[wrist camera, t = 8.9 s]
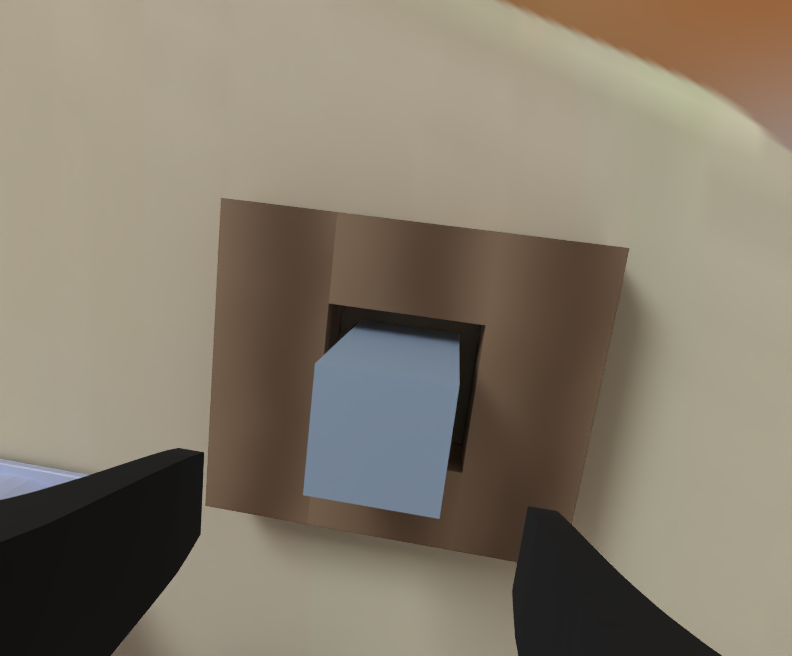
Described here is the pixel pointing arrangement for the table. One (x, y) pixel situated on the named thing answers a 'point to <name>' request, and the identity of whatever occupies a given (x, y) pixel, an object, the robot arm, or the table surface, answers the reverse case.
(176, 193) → the table surface
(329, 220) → the socket block
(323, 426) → the square peg
